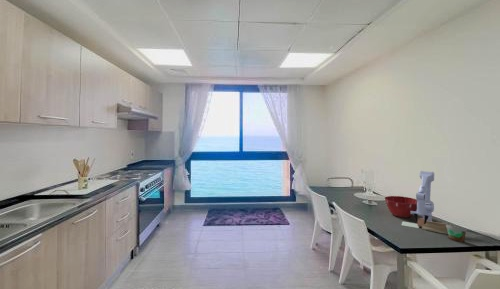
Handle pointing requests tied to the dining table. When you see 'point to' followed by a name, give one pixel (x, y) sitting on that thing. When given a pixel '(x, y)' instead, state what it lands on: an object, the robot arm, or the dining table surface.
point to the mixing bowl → (401, 205)
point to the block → (420, 221)
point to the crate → (435, 227)
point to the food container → (456, 233)
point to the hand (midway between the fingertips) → (420, 223)
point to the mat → (410, 225)
